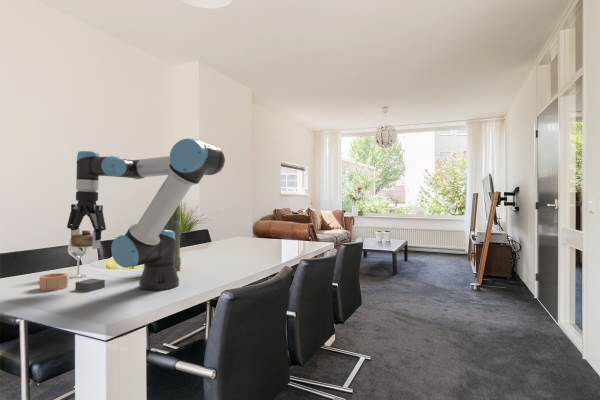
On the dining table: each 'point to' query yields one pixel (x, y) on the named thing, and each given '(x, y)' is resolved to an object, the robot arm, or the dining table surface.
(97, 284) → the stand
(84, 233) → the lid
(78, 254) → the wineglass
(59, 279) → the bowl
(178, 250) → the thermos
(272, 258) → the dining table surface
